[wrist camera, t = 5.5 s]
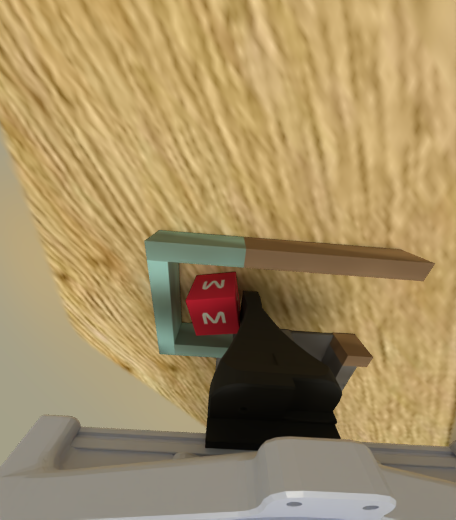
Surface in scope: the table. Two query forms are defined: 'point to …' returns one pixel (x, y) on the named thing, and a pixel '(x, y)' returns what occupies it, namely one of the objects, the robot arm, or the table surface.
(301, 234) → the table surface
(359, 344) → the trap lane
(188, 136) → the table surface
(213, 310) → the red letter block
